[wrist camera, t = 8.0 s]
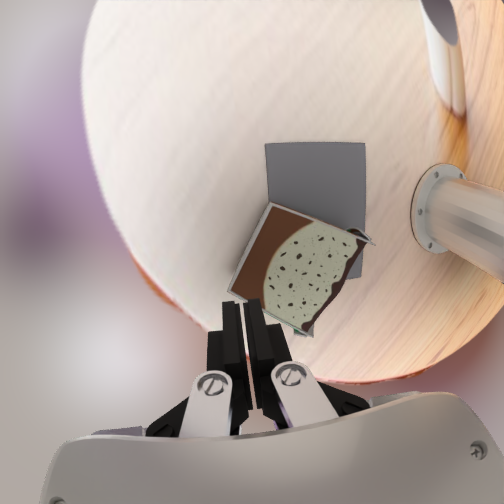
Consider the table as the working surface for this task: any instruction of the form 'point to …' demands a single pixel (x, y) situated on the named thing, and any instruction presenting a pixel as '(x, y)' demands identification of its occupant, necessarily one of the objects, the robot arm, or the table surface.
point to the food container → (296, 265)
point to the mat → (321, 183)
